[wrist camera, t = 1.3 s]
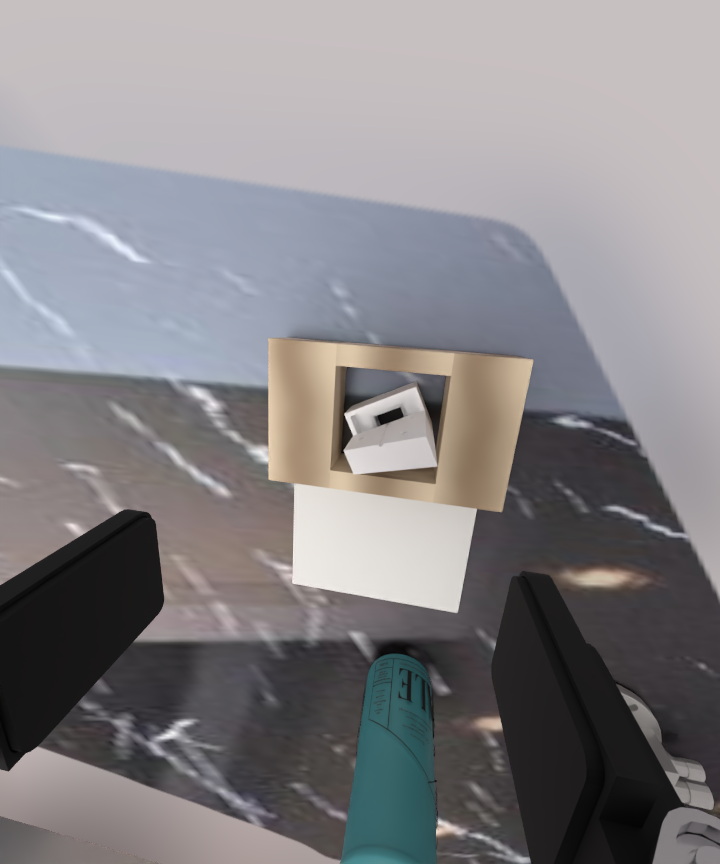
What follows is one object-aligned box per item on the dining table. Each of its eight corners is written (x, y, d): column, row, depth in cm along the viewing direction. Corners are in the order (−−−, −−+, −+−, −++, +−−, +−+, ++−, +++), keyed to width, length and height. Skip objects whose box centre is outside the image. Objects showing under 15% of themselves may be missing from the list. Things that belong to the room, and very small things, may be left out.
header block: (517, 355, 26) (533, 359, 23) (491, 489, 30) (501, 512, 26) (288, 337, 29) (268, 338, 25) (286, 462, 32) (268, 479, 28)
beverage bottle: (363, 677, 37) (304, 1033, 18) (376, 629, 35) (326, 972, 16) (423, 696, 37) (427, 1085, 18) (440, 648, 35) (465, 1028, 16)
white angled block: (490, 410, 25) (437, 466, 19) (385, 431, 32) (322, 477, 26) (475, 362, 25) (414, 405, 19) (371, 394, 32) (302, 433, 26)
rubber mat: (476, 503, 30) (477, 506, 30) (456, 608, 33) (457, 613, 33) (296, 478, 32) (294, 481, 32) (294, 579, 35) (292, 583, 35)
